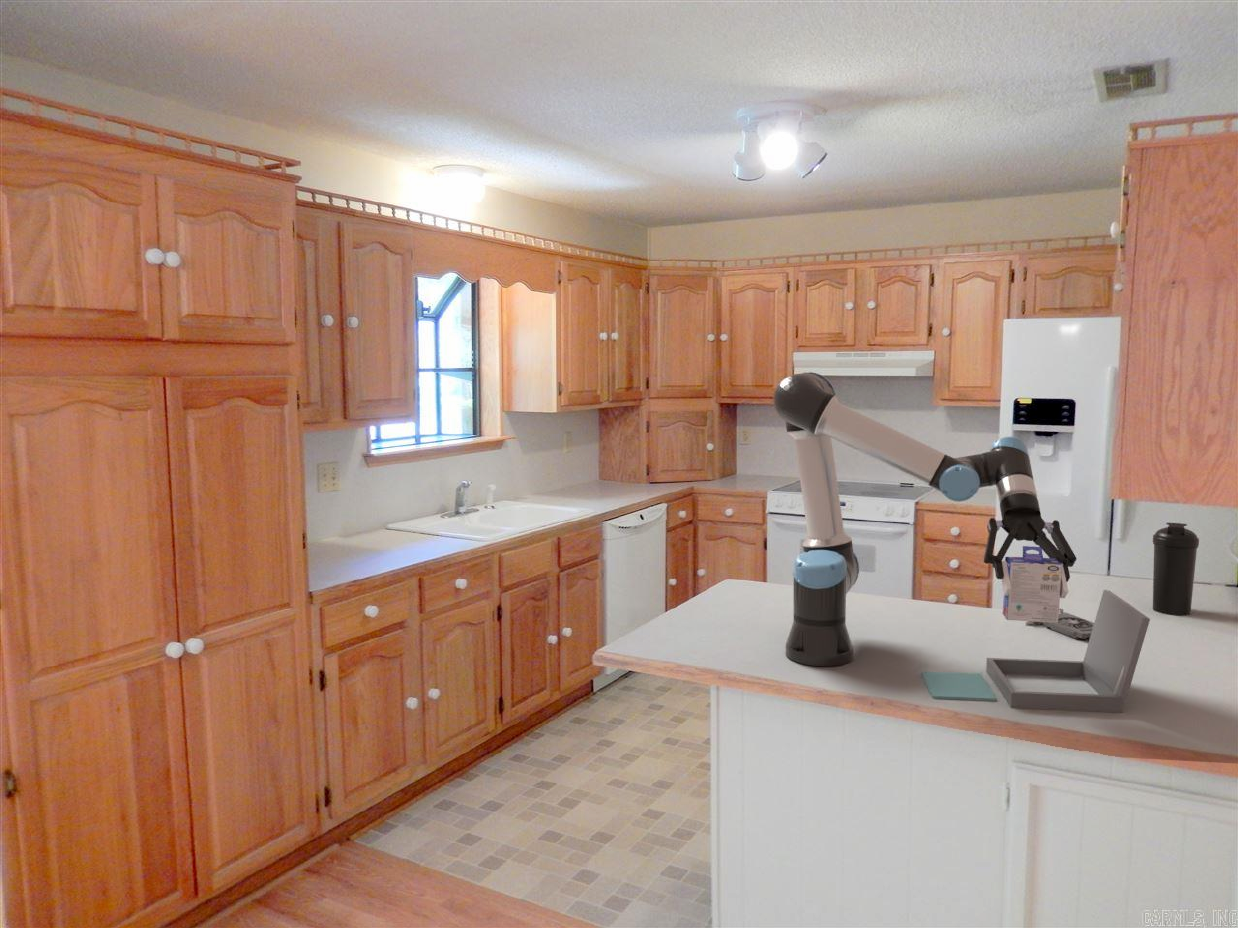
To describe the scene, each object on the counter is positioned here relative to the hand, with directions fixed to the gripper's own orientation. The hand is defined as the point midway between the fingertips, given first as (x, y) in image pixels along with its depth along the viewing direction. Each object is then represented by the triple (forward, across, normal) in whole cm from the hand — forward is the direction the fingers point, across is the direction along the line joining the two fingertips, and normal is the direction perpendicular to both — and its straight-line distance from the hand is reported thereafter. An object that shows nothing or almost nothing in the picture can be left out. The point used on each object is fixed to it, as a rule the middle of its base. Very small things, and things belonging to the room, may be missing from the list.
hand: (1035, 593), depth 175 cm
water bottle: (-31, -53, -60) cm, 86 cm away
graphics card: (-16, -21, -46) cm, 53 cm away
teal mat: (+13, +13, -17) cm, 25 cm away
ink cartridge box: (+2, 0, -7) cm, 7 cm away
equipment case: (+13, -7, -17) cm, 22 cm away
